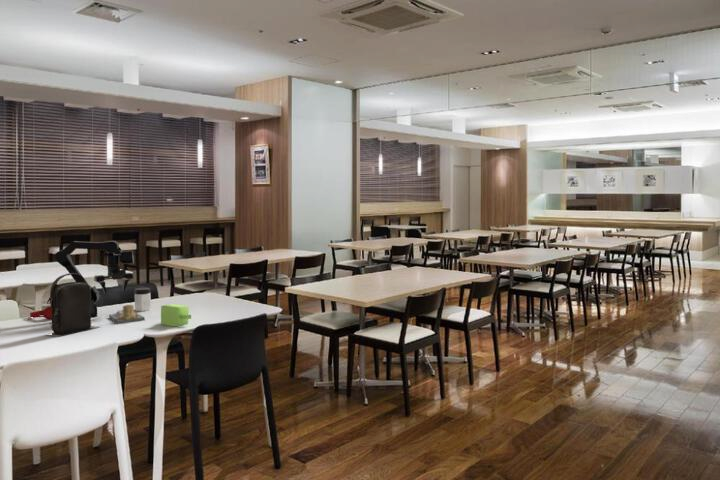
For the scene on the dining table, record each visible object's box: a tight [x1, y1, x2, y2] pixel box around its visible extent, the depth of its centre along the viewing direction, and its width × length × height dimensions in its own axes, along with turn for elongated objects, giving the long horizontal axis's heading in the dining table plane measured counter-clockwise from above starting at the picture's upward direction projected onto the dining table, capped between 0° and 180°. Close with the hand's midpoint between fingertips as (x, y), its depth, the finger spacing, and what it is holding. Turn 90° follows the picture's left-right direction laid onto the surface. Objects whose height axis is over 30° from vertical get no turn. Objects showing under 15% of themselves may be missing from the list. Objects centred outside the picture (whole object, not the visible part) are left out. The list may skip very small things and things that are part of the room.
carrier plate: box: [108, 309, 146, 325], centre depth 300 cm, size 13×18×6 cm
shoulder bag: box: [46, 272, 101, 338], centre depth 274 cm, size 23×9×28 cm, turn 148°
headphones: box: [29, 305, 51, 321], centre depth 307 cm, size 15×7×20 cm
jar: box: [134, 287, 152, 312], centre depth 324 cm, size 9×8×12 cm
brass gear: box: [119, 304, 139, 319], centre depth 297 cm, size 9×9×6 cm
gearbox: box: [160, 303, 192, 327], centre depth 288 cm, size 18×10×10 cm, turn 59°
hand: (114, 293), depth 310 cm, fingers open, 9 cm apart
